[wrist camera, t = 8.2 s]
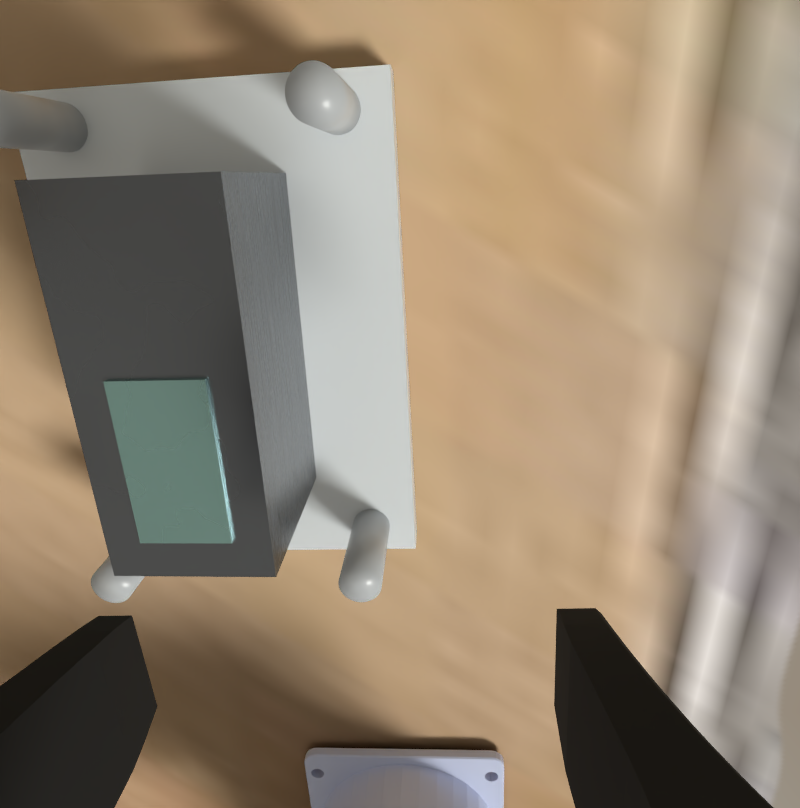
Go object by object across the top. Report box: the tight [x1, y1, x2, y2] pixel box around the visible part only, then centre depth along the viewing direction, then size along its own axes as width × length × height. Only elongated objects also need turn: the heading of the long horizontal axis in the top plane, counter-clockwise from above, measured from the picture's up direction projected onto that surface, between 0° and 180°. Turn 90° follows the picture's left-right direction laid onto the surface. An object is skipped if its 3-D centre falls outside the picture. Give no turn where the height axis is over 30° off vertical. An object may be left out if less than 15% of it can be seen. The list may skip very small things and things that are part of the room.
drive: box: [14, 171, 316, 577], centre depth 15 cm, size 9×4×5 cm, turn 2°
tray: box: [0, 60, 417, 603], centre depth 17 cm, size 14×10×4 cm
